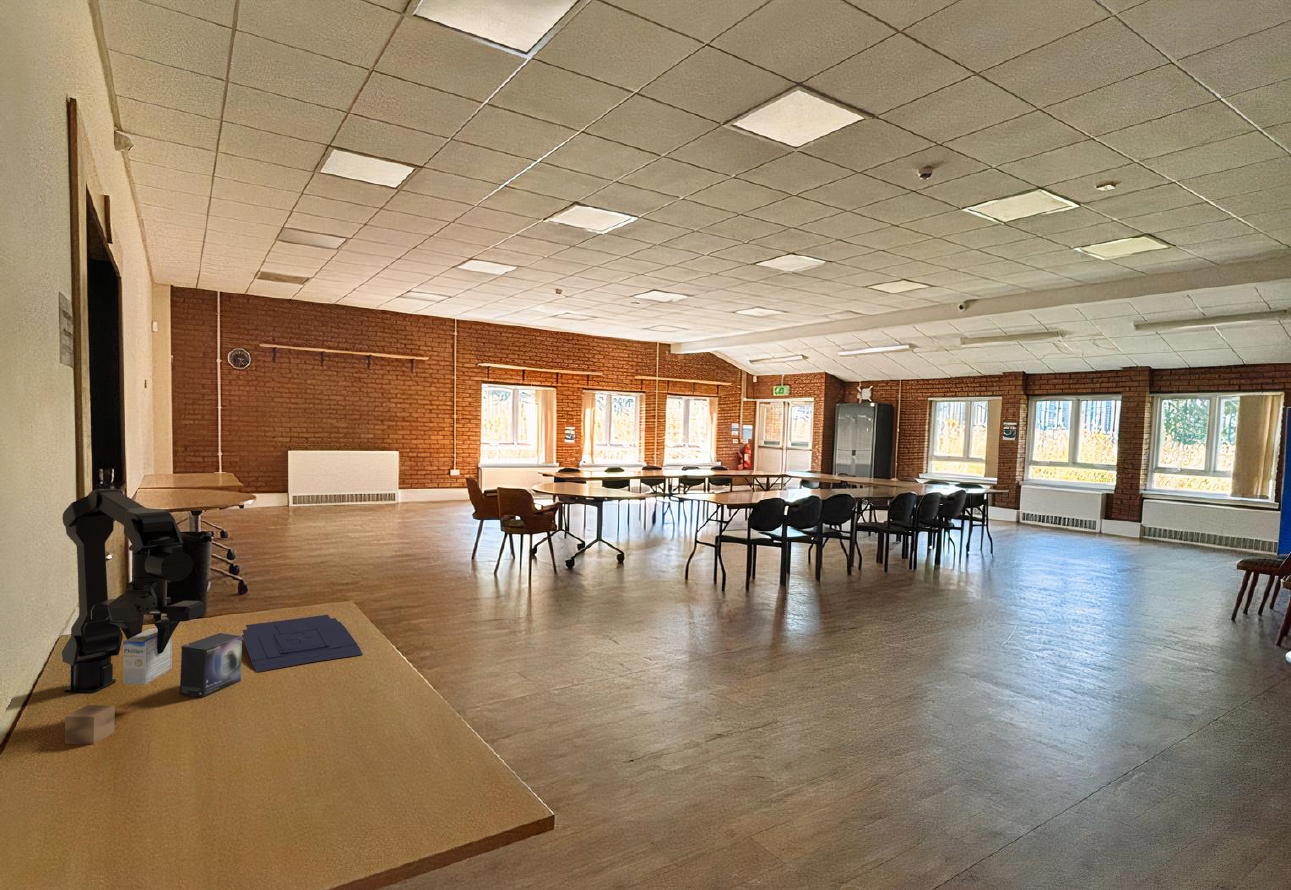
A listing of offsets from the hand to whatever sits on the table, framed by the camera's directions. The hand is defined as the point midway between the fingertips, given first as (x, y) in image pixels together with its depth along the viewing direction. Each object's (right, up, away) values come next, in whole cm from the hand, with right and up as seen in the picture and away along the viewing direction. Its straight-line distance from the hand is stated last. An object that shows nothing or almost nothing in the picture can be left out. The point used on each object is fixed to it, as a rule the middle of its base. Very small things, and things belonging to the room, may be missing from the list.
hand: (148, 653), depth 138 cm
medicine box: (0, -5, 0) cm, 5 cm away
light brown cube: (-2, -12, -12) cm, 17 cm away
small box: (+4, -12, +13) cm, 18 cm away
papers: (+9, -12, +42) cm, 45 cm away
